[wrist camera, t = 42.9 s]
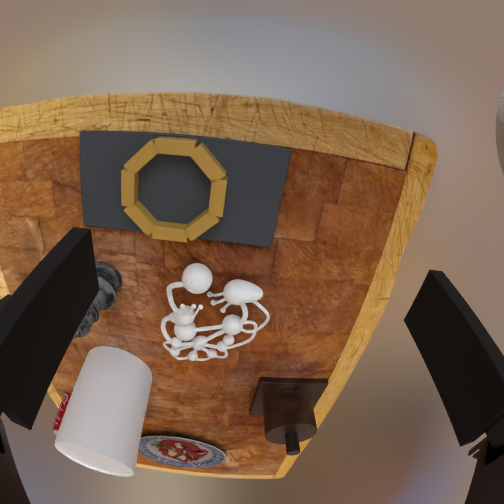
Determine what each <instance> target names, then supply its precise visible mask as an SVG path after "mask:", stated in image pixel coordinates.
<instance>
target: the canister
mask: <svg viewBox="0 0 504 504" xmlns="http://www.w3.org/2000/svg"><path fill="white" fill-rule="evenodd" d="M152 380H153V376H152V372H151V370H150V369H149V367H148V366H147V365H146V364H145V363H144V362H143V361H142V360H140V359H139V358H138V357H136V356H134V355H133V354H131V353H129V352H127V351H124V350H122V349H118V348H115V347H109V346H99V347H95V348H93V349H91V350H90V351H89V352H88V354H87V357H86V359H85V361H84V364H83V366H82V369H81V371H80V374H79V376H78V379H77V381H76V384H75V386H74V389H73V391H72V394H71V397H70V399H69V402H68V405H67V408H66V411H65V413H64V416H63V419H62V422H61V425H60V428H59V431H58V434H57V437H56V441H55V444H54V445H55V447H56V448H57V450H58V451H60V452H61V453H62V454H63V455H65V456H67V457H68V458H70V459H71V460H73V461H75V462H77V463H79V464H81V465H83V466H86V467H88V468H91V469H93V470H96V471H99V472H103V473H106V474H110V475H115V476H124V477H129V476H133V475H134V473H135V467H136V461H137V455H138V449H139V444H140V438H141V433H142V428H143V422H144V417H145V412H146V408H147V403H148V398H149V393H150V389H151V384H152Z"/></svg>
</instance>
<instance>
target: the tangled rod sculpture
mask: <svg viewBox="0 0 504 504" xmlns="http://www.w3.org/2000/svg"><path fill="white" fill-rule="evenodd" d="M211 283H212V273H211V271H210V270H209V268H208V267H207V266H205V265H203V264H200V263H194V264H191V265H189V266H187V267H186V269H185V270H184V272H183V274H182V282H174V283H171V284H169V285H168V287H167V297H168V301H169V304H170V307H171V308H172V310H173V311H174V312H172V313H171V314H169V315H168V316H165V317H164V318H163V319H162V321H161V331H162V333H163V335H164V337H165V339H166V340H167V341H165V342H163V346H164V347H165V348H166V349H167V350H168V351H170V354H171V355H172V356H174V358H176V359H178V360H186V359H189V360H191V361H196V360H198V361H206V360H209V359H211V358H215V357H216V358H226V357H227V356H228V353H227V351H226V350H227V349H230V348H234V347H238V346H241V345H244V344H246V343H249V342H250V341H252V340H253V339H254V337H255V335H256V332H257V331H259V330H260V329H261V328H263V327H264V326H265V325H266V324H267V323H268V321H269V319H270V315H269V313H268V311H267V310H266V309H265V308H264V307H263V306H262V305H261V304H259V303H258V302H257V300H259V299H261V298H262V296H263V291H262V289H261V288H260V287H258V286H256V285H255V284H253V283H251V282H248V281H245V280H240V279H236V280H232V281H230V282H228V283H227V284H226V285H225V287H224V290H223V292H222V293H218V294H213V293H212V292H210V291H209V292H207V296H208V297H212V296H213V297H215V296H222V295H224V298H223V299H221V300H219V301H215V300H212V301H211V305H213V306H214V305H216V304H219V303H222V302H224V301H227V302H228V303H227V304H226V305H225V306H224V307H222V308H220V311H221V312H222V313H225V311H226V308H227V307H228V306H229V305H231V304H233V305H240V306H241V308H242V312H243V315H242V318H240V317H239V316H237V315H234V314H231V315H228V316H226V317H225V318H224V319H223V322H222V325H214V326H207V327H199V328H197V327H196V325H195V323H194V322H193V321H194V319H195V316H196V315H197V313H198V311H199V310H201V309H203V305H199V306H198V309H197V310H196V312H195V311H194V309H195V308H196V305H195V304H192V305H191V307H190V306H187V305H184V304H181V305H180V308H179V309H178V308H177V306H176V305H175V303H174V300H173V296H172V289H173V288H178V287H185V288H186V289H187V291H189V292H191V293H193V294H200V293H204V292H205V291H207V290H208V289H209V287H210V286H211ZM249 302H252V303H254V304H255V305H257V306H258V307H259V308H260V309H261V310H262V311H263V312H264V313H265V314H266V320H265V322H264V323H262V324H261V325H260V326H259V327H258V328H257V324H256V323H255V322H254V321H246V320H247V317H248V310H247V306H246V304H245V303H249ZM168 320H171V321H172V322H173V323H175V326H174V333H175V335H176V336H177V337H173V338H172V339H171V338H170V336H169V335H168V333H167V331H166V327H165V325H166V322H167V321H168ZM244 324H253V325H254V329H253V330H245V329H243V325H244ZM215 329H222V330H220V331H218V332H216V333H214V334H212V335H210V336H208V337H205V336H201V335H199V336H197V337H195V335H196V332H199V331H207V330H215ZM241 331H242V332H244V333H253V334H252V336H251V338H249V339H248V340H246V341H244V342H241V343H238V344H234V345H232V344H233V343H234V337H233V336H232V335H236V334H238V333H240V332H241ZM225 332H226V333H227V335H225V336H224V337H223V341H219V342H218V343H217V345H214V344H208V343H207V342H208V341H209V340H211V339H213V338H215V337H217V336H219V335H221V334H223V333H225ZM194 337H195V338H194ZM191 339H192V342H182V341H189V340H191ZM181 340H182V341H181ZM165 344H171V345H172V347H171V348H169V347H167V346H166V345H165ZM227 345H230V346H227ZM191 347H193V351H191V352H189V353H188V357H177V356H178V355H179V353H180V350H183V349H187V348H191ZM205 347H209V348H210V349H207V348H205ZM214 348H216V349H218V350H219V351H221V352H225V355H224V356H218V355H217V351H216V350H215V349H214ZM197 350H203V351H205V352H207V356H208V357H207V358H203V359H202V358H198V354H197Z"/></svg>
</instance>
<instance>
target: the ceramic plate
mask: <svg viewBox="0 0 504 504" xmlns="http://www.w3.org/2000/svg"><path fill="white" fill-rule="evenodd" d="M138 451H139V452H140V453H142V454H143V455H145V456H147V457H149V458H151V459H153V460H156V461H159V462H162V463H165V464H169V465H174V466H180V467H188V468H204V467H211V466H215V465H218V464H221V463H222V462H224V461H225V459H226V456H225V454H224V453H223V452H222V451H221V450H220V449H218V448H216V447H214V446H212V445H209V444H206V443H203V442H200V441H196V440H192V439H186V438H181V437H173V436H146V437H142V438H140V444H139V449H138Z"/></svg>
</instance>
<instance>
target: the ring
mask: <svg viewBox="0 0 504 504" xmlns="http://www.w3.org/2000/svg"><path fill="white" fill-rule="evenodd" d="M197 141H198V140H197V139H188V138H176V137H163V136H159V137H158V138H156V139H155V138H154V139H152V140H150V141H149V142H148V143H147V144H146V145H145V146H144V147H142V148H141V149H140V150H139V151H138V152H137V153H136V154H135V155H134V156H133V157H132V158H131V159H130V160H129V161H128V162H127V163H126V164H124V167H125V168H124V169H123V170H122V171H121V204H122V206H127V207H126V208H125V209H124V212H125V213H126V214H127V215H128V216H129V217H130V218H131V219H132V220H133V221H134V222H135V223H136V224H137V226H138V227H139V228H140V229H141V230H142V231H143V232H144V233H145V234H146V235H147V236H148V235H150V234H151V233H152V239H161V240H169V241H177V242H186V243H187V241H188V238H189V239H190V240H191V241H193V240H194V239H196V238H197V237H198V236H200V235H201V234H203V233H204V232H205V231H207V230H208V229H210V228H211V227H212V226H214V225H215V224H217V223H218V222H219V221H220V217H223V210H224V202H225V195H226V187H227V180H228V176H226V170H225V169H224V168H223V167H222V165H221V164H220V163H219V162H218V160H217V159H216V158H215V157H214V156H213V154H212V153H211V152H210V151H209V149H208V148H207V147H206V146H205V145H204V143H203V142H201V143H200V144H199V145H198V146H197ZM157 154H168V155H180V156H190V157H191V158H192V159H193V160H194V161H195V163H196V164H197V165H198V166H199V167H200V168H201V170H202V171H203V172H204V173H205V174H206V176H207V177H208V178H209V179H210V180H211V182H212V183H211V192H210V201H209V208H208V209H206V210H205V211H204V212H202V213H201V214H200V215H198V216H197V217H196V218H194V219H193V220H192V221H190V222H189V223H188V224H181V223H173V222H164V221H158V220H157V219H156V218H155V217H154V216H153V215H152V214H151V213H150V212H149V211H148V210H147V209H146V207H145V206H144V205H143V204H142V203H141V202H140V201H139V200H138V184H139V170H140V169H141V168H142V167H143V166H145V165H146V164H147V163H148V162H149V161H150V160H151V159H152V158H153V157H155V156H156V155H157Z"/></svg>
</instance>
